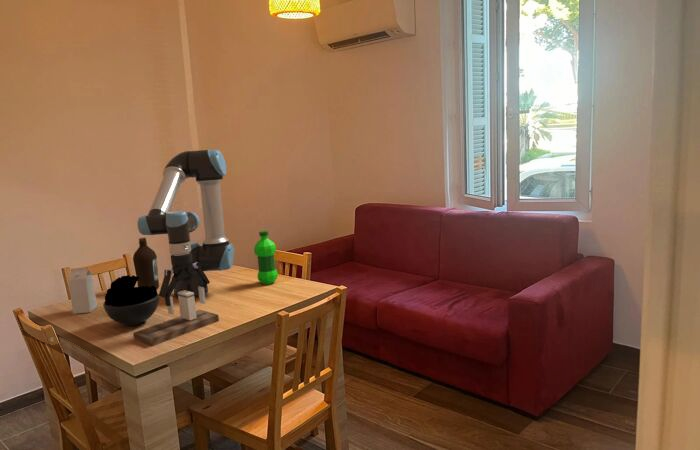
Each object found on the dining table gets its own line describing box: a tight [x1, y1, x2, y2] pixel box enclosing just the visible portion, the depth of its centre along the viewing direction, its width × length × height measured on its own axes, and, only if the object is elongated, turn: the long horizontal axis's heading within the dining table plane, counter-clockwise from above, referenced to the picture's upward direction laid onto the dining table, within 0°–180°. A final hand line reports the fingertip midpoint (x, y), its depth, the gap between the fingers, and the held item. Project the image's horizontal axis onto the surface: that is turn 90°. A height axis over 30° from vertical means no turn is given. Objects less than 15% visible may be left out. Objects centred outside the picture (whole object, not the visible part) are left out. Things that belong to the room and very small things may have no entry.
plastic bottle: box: [253, 230, 279, 285], centre depth 245 cm, size 10×10×25 cm
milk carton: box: [67, 266, 98, 315], centre depth 220 cm, size 7×7×19 cm
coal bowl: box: [103, 274, 160, 326], centre depth 200 cm, size 20×20×19 cm
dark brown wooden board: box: [132, 309, 220, 347], centre depth 191 cm, size 28×12×3 cm, turn 141°
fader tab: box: [177, 290, 197, 320], centre depth 194 cm, size 3×6×10 cm, turn 51°
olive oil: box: [132, 237, 160, 289], centre depth 248 cm, size 11×11×25 cm
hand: (187, 308), depth 194 cm, fingers open, 13 cm apart
